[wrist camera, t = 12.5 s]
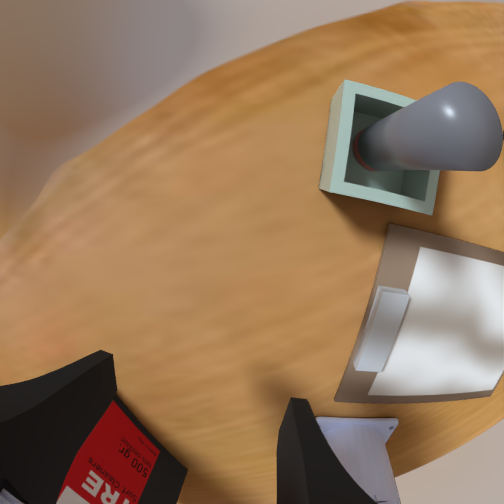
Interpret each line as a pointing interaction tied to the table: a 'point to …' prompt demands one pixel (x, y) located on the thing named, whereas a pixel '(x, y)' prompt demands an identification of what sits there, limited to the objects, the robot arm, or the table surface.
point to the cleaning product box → (122, 465)
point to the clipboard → (429, 323)
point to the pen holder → (351, 172)
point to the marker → (434, 134)
